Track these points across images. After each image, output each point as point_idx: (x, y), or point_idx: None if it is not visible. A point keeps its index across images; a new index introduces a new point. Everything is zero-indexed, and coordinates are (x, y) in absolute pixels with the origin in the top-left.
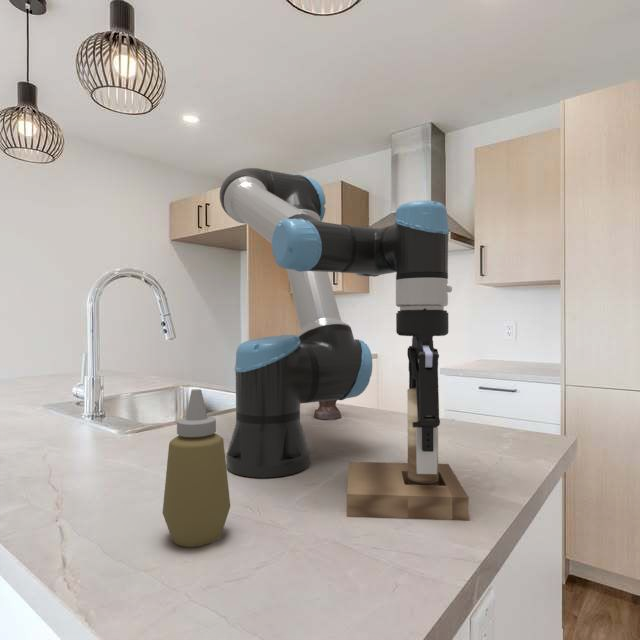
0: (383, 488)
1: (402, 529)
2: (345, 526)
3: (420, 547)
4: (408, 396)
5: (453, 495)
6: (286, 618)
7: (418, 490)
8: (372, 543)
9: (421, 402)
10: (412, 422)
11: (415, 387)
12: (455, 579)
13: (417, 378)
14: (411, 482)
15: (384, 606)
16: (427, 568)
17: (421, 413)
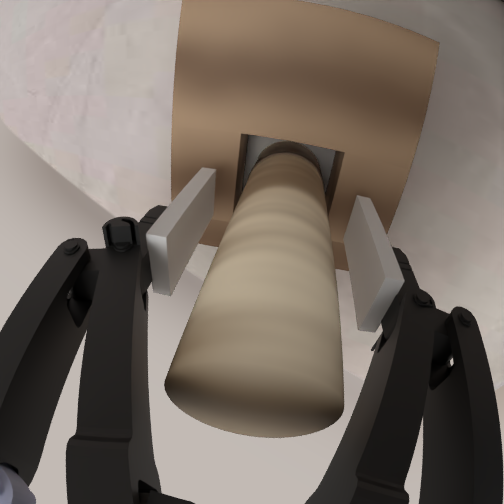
0: (215, 77)
1: (147, 102)
2: (158, 7)
3: (98, 124)
4: (243, 327)
5: None
6: (5, 12)
7: (202, 156)
8: (104, 55)
9: (25, 299)
10: (234, 241)
11: (371, 408)
12: (49, 154)
13: (79, 432)
14: (268, 155)
15: (13, 85)
16: (60, 127)
17: (45, 268)
